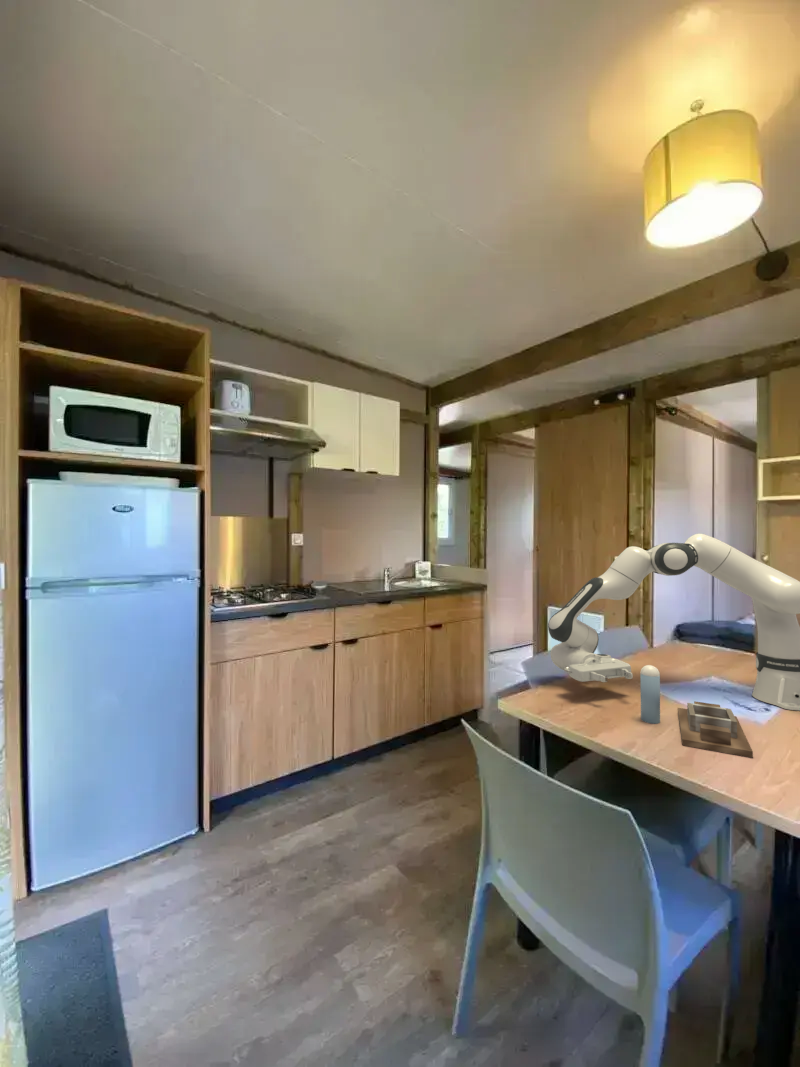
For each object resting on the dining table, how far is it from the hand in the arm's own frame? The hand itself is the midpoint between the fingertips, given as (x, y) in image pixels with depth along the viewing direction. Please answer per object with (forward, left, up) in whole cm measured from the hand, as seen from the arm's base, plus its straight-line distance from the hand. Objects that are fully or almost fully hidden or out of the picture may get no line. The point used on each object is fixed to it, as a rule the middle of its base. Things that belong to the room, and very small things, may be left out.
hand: (618, 677), depth 141 cm
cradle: (-23, +10, -9) cm, 26 cm away
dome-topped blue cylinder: (-9, +8, -9) cm, 15 cm away
